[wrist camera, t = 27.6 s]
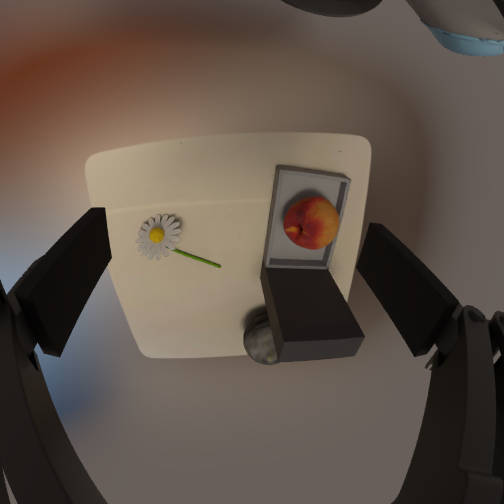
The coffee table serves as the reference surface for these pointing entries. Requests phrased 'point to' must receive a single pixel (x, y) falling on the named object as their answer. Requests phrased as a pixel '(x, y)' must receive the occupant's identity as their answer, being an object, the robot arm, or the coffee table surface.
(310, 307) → the tray with tall back
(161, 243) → the decorative flower
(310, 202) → the fruit
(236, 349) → the coffee table surface
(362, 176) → the coffee table surface
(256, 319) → the decorative stone
